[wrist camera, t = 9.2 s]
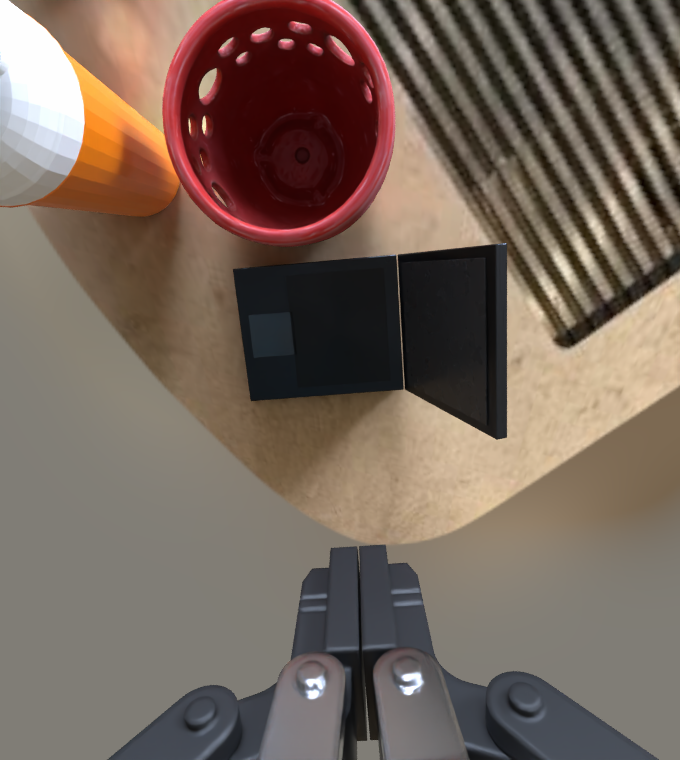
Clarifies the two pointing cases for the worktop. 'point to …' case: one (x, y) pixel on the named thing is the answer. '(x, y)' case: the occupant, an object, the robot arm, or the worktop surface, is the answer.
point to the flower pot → (280, 119)
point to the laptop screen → (457, 332)
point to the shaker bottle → (72, 132)
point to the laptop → (320, 327)
